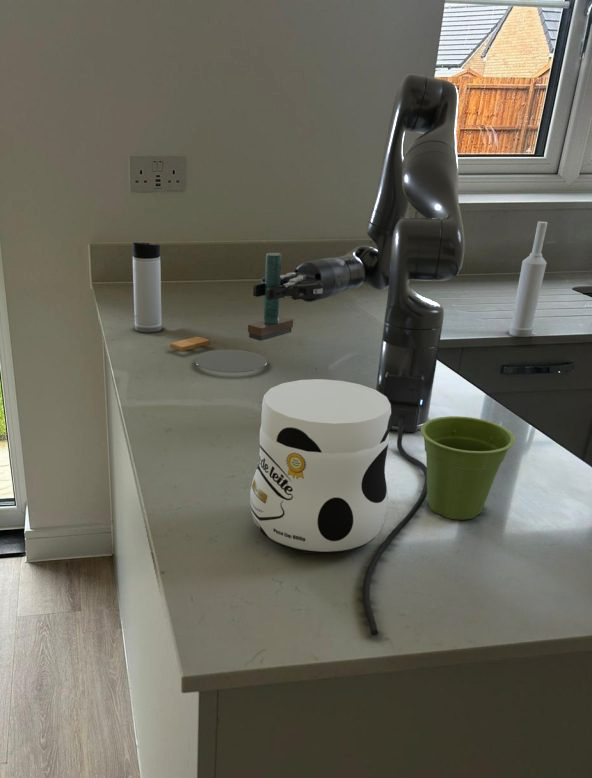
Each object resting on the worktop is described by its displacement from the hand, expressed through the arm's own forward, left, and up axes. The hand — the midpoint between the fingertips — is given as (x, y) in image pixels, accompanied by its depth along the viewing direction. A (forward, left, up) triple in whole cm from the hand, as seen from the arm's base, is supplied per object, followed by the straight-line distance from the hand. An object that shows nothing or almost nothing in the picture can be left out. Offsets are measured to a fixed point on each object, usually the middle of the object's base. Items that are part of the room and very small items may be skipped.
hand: (261, 292), depth 144 cm
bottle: (+53, -50, -17) cm, 75 cm away
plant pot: (-42, -38, -17) cm, 60 cm away
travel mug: (+28, +34, -17) cm, 47 cm away
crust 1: (+13, +20, -17) cm, 30 cm away
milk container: (-54, -21, -17) cm, 61 cm away
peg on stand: (+3, -1, -8) cm, 9 cm away
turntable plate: (+8, +8, -17) cm, 20 cm away
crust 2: (+17, +18, -17) cm, 30 cm away
